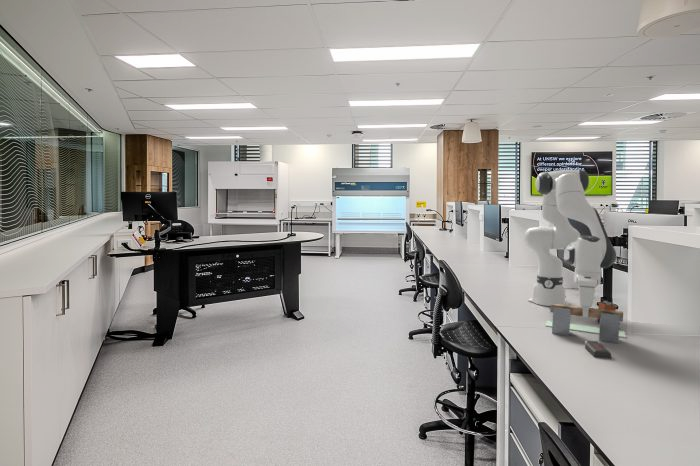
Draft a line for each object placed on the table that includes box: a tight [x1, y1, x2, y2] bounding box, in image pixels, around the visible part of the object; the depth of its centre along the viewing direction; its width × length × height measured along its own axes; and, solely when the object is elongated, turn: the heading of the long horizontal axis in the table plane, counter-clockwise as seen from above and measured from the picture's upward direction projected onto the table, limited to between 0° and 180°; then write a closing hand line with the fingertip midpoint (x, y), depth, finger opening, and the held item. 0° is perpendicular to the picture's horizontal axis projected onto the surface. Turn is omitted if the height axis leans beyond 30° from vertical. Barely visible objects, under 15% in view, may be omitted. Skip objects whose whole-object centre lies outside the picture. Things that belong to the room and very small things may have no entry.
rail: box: [549, 303, 624, 323], centre depth 160 cm, size 24×3×3 cm, turn 60°
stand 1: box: [551, 307, 572, 337], centre depth 164 cm, size 6×6×10 cm
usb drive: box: [584, 340, 612, 359], centre depth 144 cm, size 5×12×3 cm, turn 168°
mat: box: [545, 320, 627, 339], centre depth 169 cm, size 8×28×1 cm, turn 60°
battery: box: [597, 300, 617, 324], centre depth 176 cm, size 4×7×10 cm, turn 168°
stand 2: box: [598, 313, 621, 344], centre depth 157 cm, size 6×6×10 cm
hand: (585, 313), depth 160 cm, fingers open, 8 cm apart
